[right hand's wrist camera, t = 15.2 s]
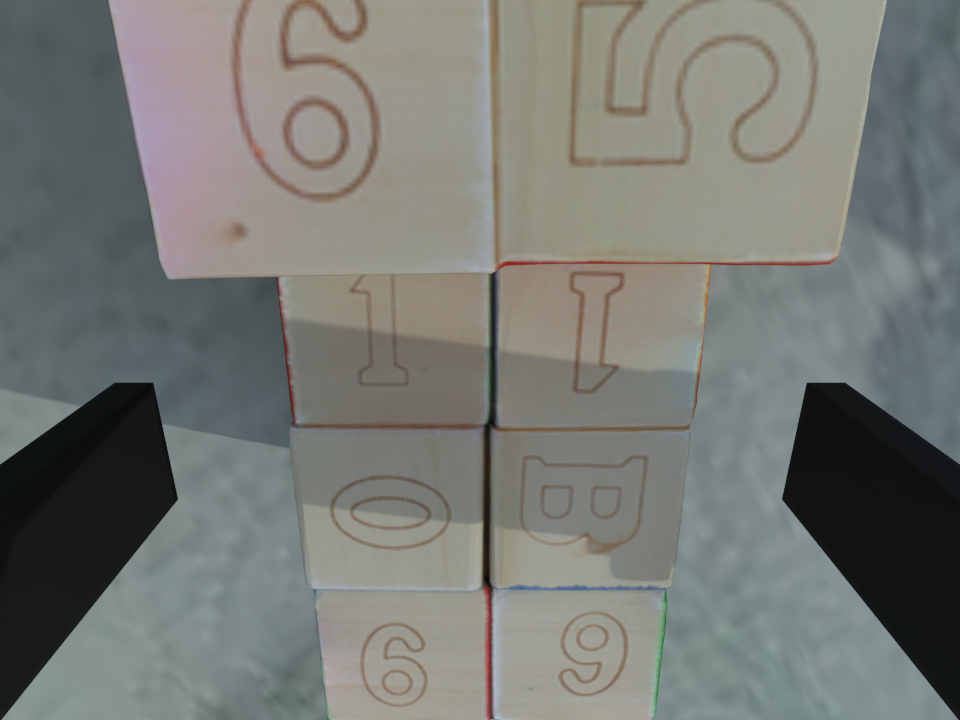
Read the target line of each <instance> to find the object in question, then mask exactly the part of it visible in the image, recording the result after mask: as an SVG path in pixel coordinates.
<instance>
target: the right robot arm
mask: <svg viewBox="0 0 960 720" xmlns="http://www.w3.org/2000/svg"><path fill="white" fill-rule="evenodd" d="M177 500H178V497H177V493H176V488H175V483H174V479H173V474H172V469H171V465H170V460H169V455H168V451H167V446H166V441H165V436H164V432H163V427H162V422H161V418H160V413H159V408H158V404H157V399H156V394H155V390H154V385H153V383H114V384H113V385H111V386H110V387H108V388H107V389H106V390H104V391H103V392H101V393H100V394H99V395H97V396H96V397H94V398H93V399H91V400H90V401H89V402H87V403H86V404H84V405H83V406H82V407H80V408H79V409H77V410H76V411H75V412H73V413H72V414H70V415H69V416H68V417H66V418H65V419H63V420H62V421H61V422H59V423H58V424H56V425H55V426H54V427H52V428H51V429H49V430H48V431H47V432H45V433H44V434H42V435H41V436H40V437H38V438H37V439H35V440H34V441H33V442H31V443H30V444H28V445H27V446H26V447H24V448H23V449H21V450H20V451H19V452H17V453H16V454H14V455H13V456H12V457H10V458H9V459H7V460H6V461H5V462H3V463H2V464H0V720H1V719H2V718H3V717H4V716H5V715H6V713H7V712H8V711H9V710H10V708H11V707H12V706H13V705H14V703H15V702H16V701H17V700H18V698H19V697H20V696H21V695H22V693H23V692H24V691H25V690H26V688H27V687H28V686H29V685H30V683H31V682H32V681H33V680H34V678H35V677H36V676H37V675H38V673H39V672H40V671H41V670H42V668H43V667H44V666H45V665H46V663H47V662H48V661H49V660H50V658H51V657H52V656H53V655H54V653H55V652H56V651H57V650H58V648H59V647H60V646H61V645H62V643H63V642H64V641H65V640H66V638H67V637H68V636H69V635H70V633H71V632H72V631H73V630H74V628H75V627H76V626H77V625H78V623H79V622H80V621H81V620H82V618H83V617H84V616H85V615H86V613H87V612H88V611H89V610H90V608H91V607H92V606H93V605H94V603H95V602H96V601H97V600H98V598H99V597H100V596H101V595H102V593H103V592H104V591H105V590H106V588H107V587H108V586H109V585H110V583H111V582H112V581H113V580H114V578H115V577H116V576H117V575H118V573H119V572H120V571H121V570H122V568H123V567H124V566H125V565H126V563H127V562H128V561H129V560H130V558H131V557H132V556H133V555H134V553H135V552H136V551H137V550H138V548H139V547H140V546H141V545H142V543H143V542H144V541H145V540H146V538H147V537H148V536H149V535H150V534H151V532H152V531H153V530H154V529H155V527H156V526H157V525H158V524H159V522H160V521H161V520H162V519H163V517H164V516H165V515H166V514H167V512H168V511H169V510H170V509H171V507H172V506H173V505H174V504H175V502H176V501H177ZM782 500H783V501H784V502H785V504H786V505H787V506H788V507H789V509H790V510H791V511H792V512H793V514H794V515H795V516H796V517H797V519H798V520H799V521H800V522H801V524H802V525H803V526H804V527H805V529H806V530H807V531H808V532H809V534H810V535H811V536H812V537H813V538H814V540H815V541H816V542H817V543H818V545H819V546H820V547H821V548H822V550H823V551H824V552H825V553H826V555H827V556H828V557H829V558H830V560H831V561H832V562H833V563H834V565H835V566H836V567H837V568H838V570H839V571H840V572H841V573H842V575H843V576H844V577H845V578H846V580H847V581H848V582H849V583H850V585H851V586H852V587H853V588H854V590H855V591H856V592H857V593H858V595H859V596H860V597H861V598H862V600H863V601H864V602H865V603H866V605H867V606H868V607H869V608H870V610H871V611H872V612H873V613H874V615H875V616H876V617H877V618H878V620H879V621H880V622H881V623H882V625H883V626H884V627H885V628H886V630H887V631H888V632H889V633H890V635H891V636H892V637H893V638H894V640H895V641H896V642H897V643H898V645H899V646H900V647H901V648H902V650H903V651H904V652H905V653H906V655H907V656H908V657H909V658H910V660H911V661H912V662H913V663H914V665H915V666H916V667H917V668H918V670H919V671H920V672H921V673H922V675H923V676H924V677H925V678H926V680H927V681H928V682H929V683H930V685H931V686H932V687H933V688H934V690H935V691H936V692H937V693H938V695H939V696H940V697H941V698H942V700H943V701H944V702H945V703H946V705H947V706H948V707H949V708H950V710H951V711H952V712H953V713H954V715H955V716H956V717H957V718H958V719H959V720H960V464H958V463H957V462H955V461H954V460H953V459H951V458H950V457H948V456H947V455H946V454H944V453H943V452H941V451H940V450H939V449H937V448H936V447H934V446H933V445H932V444H930V443H929V442H927V441H926V440H925V439H923V438H922V437H920V436H919V435H918V434H916V433H915V432H913V431H912V430H911V429H909V428H908V427H906V426H905V425H904V424H902V423H901V422H899V421H898V420H897V419H895V418H894V417H892V416H891V415H890V414H888V413H887V412H885V411H884V410H883V409H881V408H880V407H878V406H877V405H876V404H874V403H873V402H871V401H870V400H869V399H867V398H866V397H864V396H863V395H861V394H860V393H859V392H857V391H856V390H854V389H853V388H852V387H850V386H849V385H847V384H846V383H807V385H806V390H805V394H804V399H803V404H802V408H801V413H800V418H799V422H798V427H797V432H796V436H795V441H794V446H793V451H792V455H791V460H790V465H789V469H788V474H787V479H786V483H785V488H784V493H783V497H782Z"/></svg>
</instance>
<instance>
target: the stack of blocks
mask: <svg viewBox="0 0 960 720" xmlns="http://www.w3.org/2000/svg"><path fill="white" fill-rule="evenodd" d="M107 2H108V7H109V12H110V17H111V22H112V27H113V32H114V37H115V42H116V47H117V52H118V57H119V62H120V67H121V71H122V77H123V82H124V87H125V92H126V98H127V103H128V108H129V113H130V119H131V124H132V129H133V134H134V139H135V145H136V150H137V155H138V160H139V164H140V169H141V174H142V178H143V183H144V187H145V192H146V197H147V201H148V206H149V211H150V215H151V220H152V225H153V229H154V235H155V241H156V247H157V253H158V259H159V264H160V266H161V268H162V270H163V272H164V274H165V275H166V277H167V279H196V278H241V277H276V278H277V287H278V296H279V305H280V314H281V322H282V331H283V339H284V348H285V357H286V366H287V375H288V385H289V394H290V402H291V410H292V415H293V421H292V423H291V425H290V427H289V441H290V451H291V460H292V469H293V479H294V488H295V497H296V506H297V514H298V522H299V531H300V539H301V547H302V555H303V564H304V572H305V580H306V583H307V585H308V587H310V588H311V589H312V590H314V592H315V613H316V624H317V633H318V641H319V649H320V659H321V670H322V677H323V684H324V696H325V704H326V712H327V718H328V720H489V719H493V718H494V719H499V720H653V718H654V715H655V712H656V706H657V694H658V685H659V677H660V667H661V657H662V649H663V642H664V635H665V625H666V610H667V598H666V588H667V587H669V586H670V585H671V584H672V582H673V577H674V573H675V564H676V555H677V546H678V539H679V531H680V524H681V514H682V505H683V495H684V485H685V475H686V469H687V463H688V456H689V448H690V430H689V426H690V424H691V421H692V419H693V417H694V412H695V408H696V404H697V390H698V384H699V377H700V368H701V359H702V350H703V340H704V328H705V318H706V308H707V299H708V289H709V280H710V271H711V264H719V265H821V264H830V263H832V262H833V261H834V260H836V259H837V258H838V255H839V251H840V247H841V242H842V238H843V233H844V229H845V225H846V219H847V214H848V208H849V203H850V197H851V192H852V186H853V181H854V176H855V170H856V165H857V159H858V154H859V149H860V143H861V138H862V133H863V127H864V122H865V117H866V111H867V105H868V98H869V90H870V82H871V75H872V70H873V65H874V61H875V56H876V51H877V46H878V42H879V37H880V32H881V28H882V23H883V18H884V14H885V9H886V4H887V0H107Z"/></svg>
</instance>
